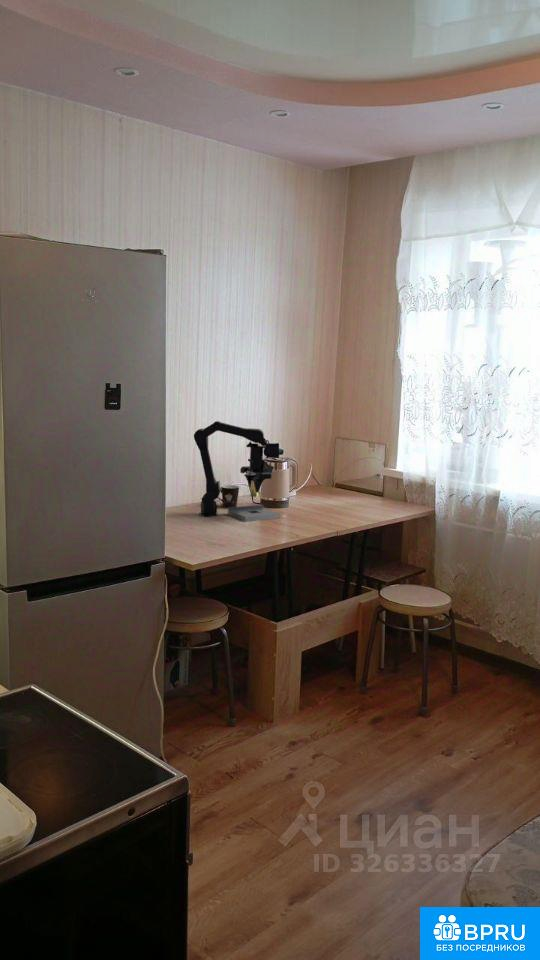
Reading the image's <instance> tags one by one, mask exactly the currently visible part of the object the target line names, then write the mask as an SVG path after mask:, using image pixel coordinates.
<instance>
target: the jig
mask: <svg viewBox="0 0 540 960" xmlns="http://www.w3.org/2000/svg"><path fill="white" fill-rule="evenodd" d="M228 514H229V515H228ZM227 515H228V516H231V517H233V516H234V518H235V519H239V520H240V519H241V521H243V522H245V523H247V522H255V521H262V520H263V521H264V520H272V519H275V520H276V519H280V518H281V516H280V515H281V513H278V512H276V511H273V510H270V509H267V508H265V507H264V505H263V504H251V505H240V506H236V507H228V508H227Z"/></svg>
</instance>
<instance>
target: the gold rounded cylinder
mask: <svg viewBox="0 0 540 960" xmlns="http://www.w3.org/2000/svg"><path fill="white" fill-rule="evenodd" d="M260 490H261V489H260ZM260 490H259V492H256V490H255V486H254V481H253V480H251V488H250V494H249V495H250V497H253V498H255V497H257V498H258V497H260Z"/></svg>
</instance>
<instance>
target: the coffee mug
mask: <svg viewBox="0 0 540 960" xmlns="http://www.w3.org/2000/svg"><path fill="white" fill-rule="evenodd" d="M220 487H221V491H220V494H221V498H220V496H218V498H217V499H218V500H219V501H220V502H221V503H222V508H224V507H225V508H224V509H228V507H238V506H237V505H238V499H239V498H238V497H239V493H240V491H239V490H240V486H239V485H235V484H234V485H233V484H225V485H224V484H223V485H220Z"/></svg>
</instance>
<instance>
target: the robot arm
mask: <svg viewBox="0 0 540 960" xmlns="http://www.w3.org/2000/svg"><path fill="white" fill-rule="evenodd" d="M216 432H223V433H226V434H230V435H233V436H238V437H241V438H244V439H246V440H248V441H249V442H248V443H247V444H246V446H245V447H246V448H250V449H249V450H250V451H249V458H248V459H247V462H249V465H247V466H246V465H245V466H242V467H240V470H239V471H240V473H241V474H243V476H244V477H245V479H246V480H247V481H246V482H247V483H248V487H249V488H250V489H251V480H253V481H254V486H255V490H256V492H259V493H260V491H259V490H261V486H262V483H263V482H264V481H265V480H269V479H272V477H273V476H272V475H273V471H274V469H275V467H274V466H273V465H270V464H269V463H268V461H266V460H265V459H264V456H265V457H266V458H267V459H280V443H279V442H275V443H273V442H268V441H267V439H266V438H265V434H264V431H263V430H262V429H260V428H253V427H251V428H247V427H240V426H238V425H233V424H229V423H225V422H221V421H219V420H216V421H214V422H213V423H211V424H210V425H208V426H207V427H205V428H198V429H197V430H196V431H195V432H194V434H193V439H194V441H195V444H196V446H197V447H198V450H199V454H200V458H201V461H202V462H201V463H202V467H203V471H204V475H205V491H206V492H205V494H203V496H202V497H201V502H200V512H199V513H198V514H199V515H200V514H201V516H203V517H205V518H206V517H216V516H217V517H218V515H219V514H218V504H217V501H216V500H217V499H218V497H220V494H221V490H222V489H221V484H220V480H218V481H217V479H216V478H215V474H214V470H213V469H214V468H213V463H212V460H211V455H210V450H209V436H211V435H213V434H214V433H216ZM263 454H264V455H263Z"/></svg>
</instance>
